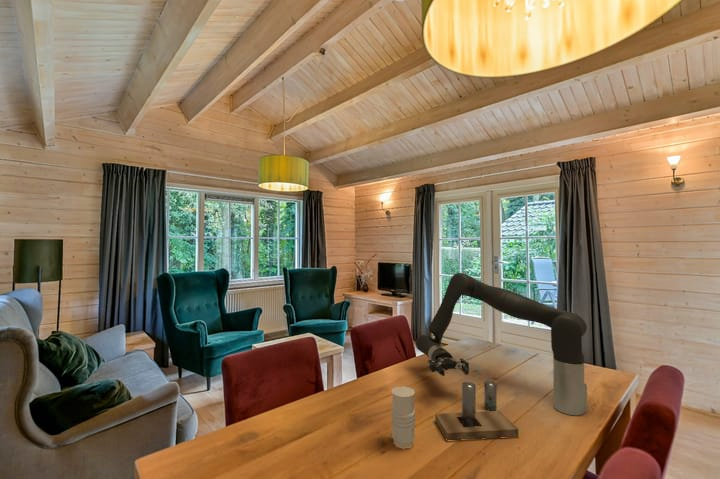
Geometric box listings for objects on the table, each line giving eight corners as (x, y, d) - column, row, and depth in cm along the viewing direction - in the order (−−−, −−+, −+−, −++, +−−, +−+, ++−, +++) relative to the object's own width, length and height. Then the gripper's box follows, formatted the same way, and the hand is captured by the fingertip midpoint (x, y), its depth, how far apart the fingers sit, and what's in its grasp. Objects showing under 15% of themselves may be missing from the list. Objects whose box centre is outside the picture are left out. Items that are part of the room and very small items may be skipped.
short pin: (493, 405, 121) (493, 380, 121) (498, 411, 117) (498, 385, 117) (482, 406, 121) (482, 380, 121) (487, 411, 117) (487, 385, 117)
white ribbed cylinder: (414, 451, 94) (414, 398, 95) (390, 448, 96) (390, 395, 96) (415, 437, 101) (415, 387, 101) (392, 435, 103) (392, 385, 103)
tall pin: (472, 425, 108) (472, 381, 108) (477, 432, 104) (477, 387, 104) (460, 426, 108) (460, 382, 108) (465, 433, 104) (465, 387, 104)
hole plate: (499, 418, 112) (499, 410, 112) (518, 437, 101) (518, 429, 101) (435, 421, 110) (435, 413, 110) (447, 441, 99) (447, 433, 99)
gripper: (422, 348, 134) (435, 362, 118) (457, 347, 136) (474, 361, 120) (422, 367, 134) (435, 384, 118) (457, 365, 136) (475, 382, 120)
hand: (455, 372), depth 119 cm, fingers open, 8 cm apart
